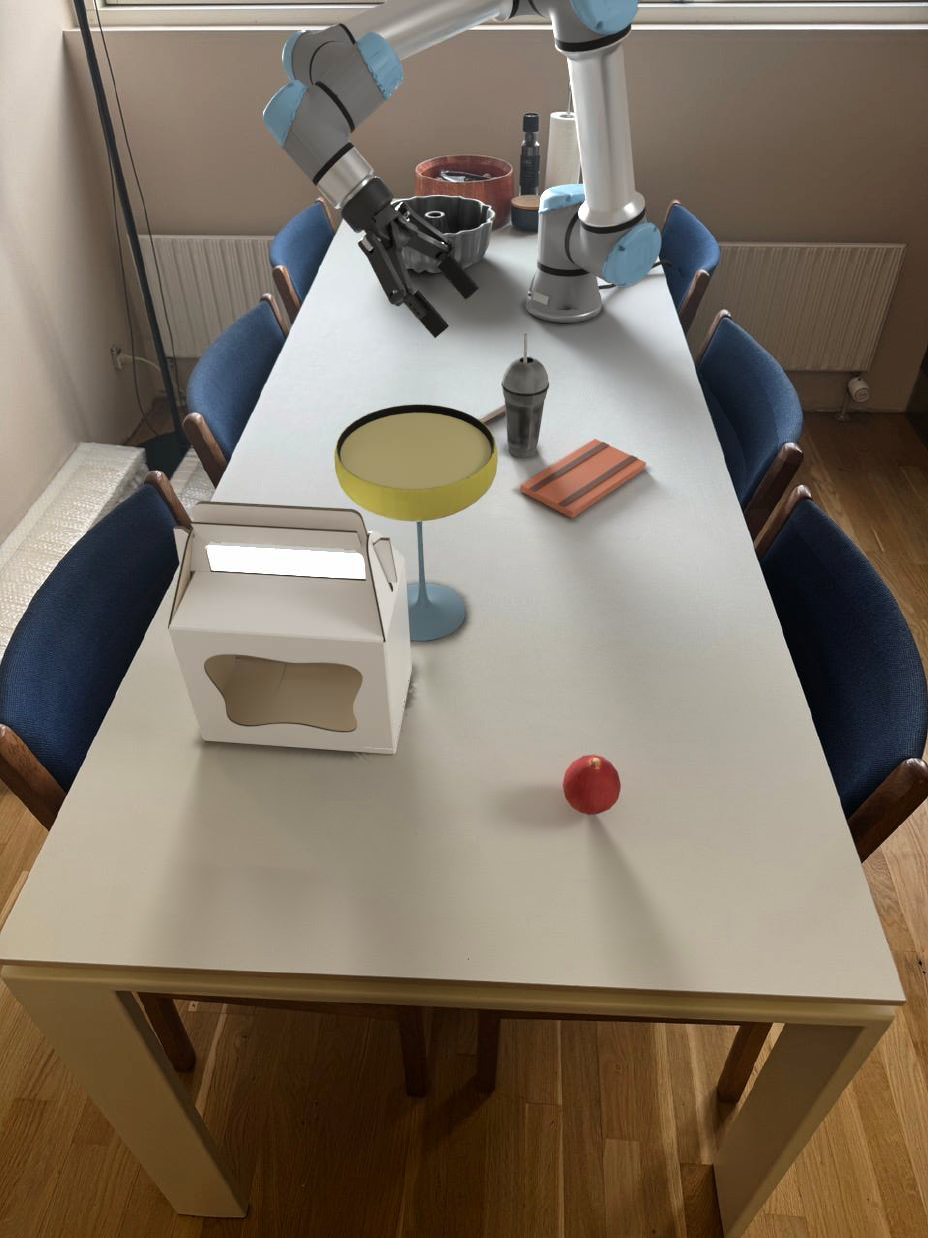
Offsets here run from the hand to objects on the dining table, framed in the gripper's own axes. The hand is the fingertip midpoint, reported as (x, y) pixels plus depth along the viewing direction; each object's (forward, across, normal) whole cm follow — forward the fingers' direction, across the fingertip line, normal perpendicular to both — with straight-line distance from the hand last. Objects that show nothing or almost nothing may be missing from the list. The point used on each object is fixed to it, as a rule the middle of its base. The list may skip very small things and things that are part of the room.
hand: (458, 312), depth 133 cm
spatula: (+16, -4, -13) cm, 22 cm away
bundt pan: (-5, -70, -36) cm, 79 cm away
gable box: (+17, +61, -12) cm, 64 cm away
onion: (+40, +64, +12) cm, 77 cm away
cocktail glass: (+22, +42, -8) cm, 48 cm away
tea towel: (+30, +6, +1) cm, 31 cm away
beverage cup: (+23, 0, -7) cm, 24 cm away
